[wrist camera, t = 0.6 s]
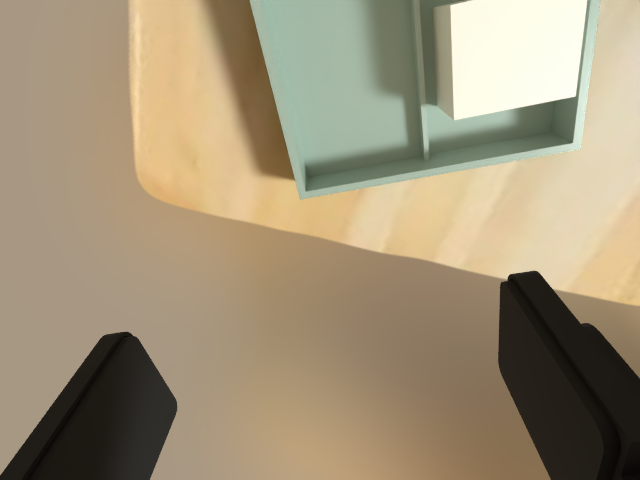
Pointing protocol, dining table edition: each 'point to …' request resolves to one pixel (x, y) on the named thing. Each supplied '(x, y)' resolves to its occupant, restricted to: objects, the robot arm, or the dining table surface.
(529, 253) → the dining table surface
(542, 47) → the carton
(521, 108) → the tray
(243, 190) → the dining table surface
